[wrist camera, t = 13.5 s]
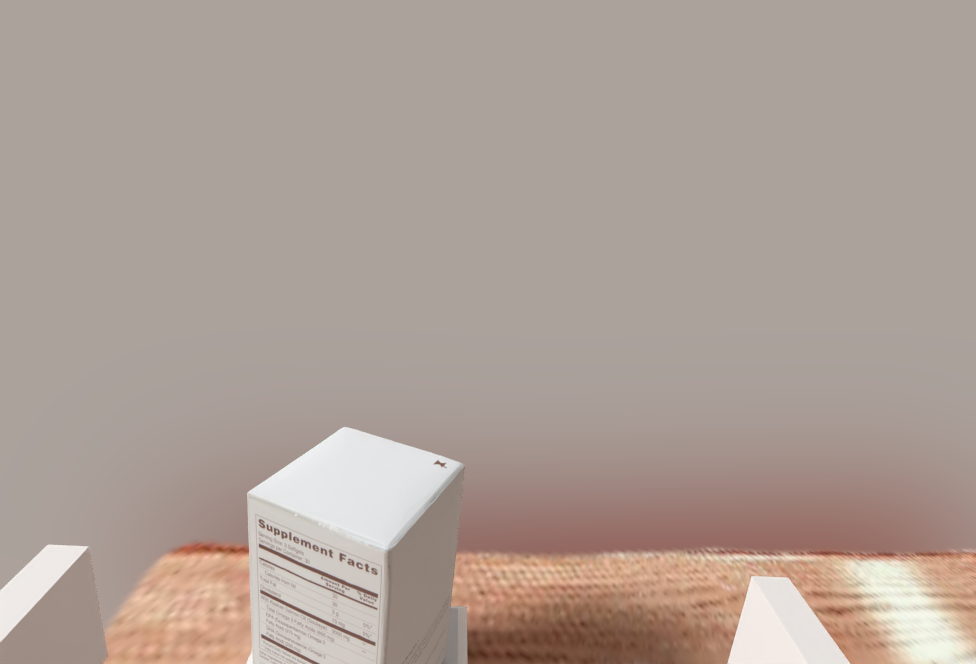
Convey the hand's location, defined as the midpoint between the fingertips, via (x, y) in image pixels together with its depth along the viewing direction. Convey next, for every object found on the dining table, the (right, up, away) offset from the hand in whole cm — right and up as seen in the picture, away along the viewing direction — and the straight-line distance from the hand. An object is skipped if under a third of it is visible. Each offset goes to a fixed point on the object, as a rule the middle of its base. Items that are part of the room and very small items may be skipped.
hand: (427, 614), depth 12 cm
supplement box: (-6, -13, +19) cm, 23 cm away
